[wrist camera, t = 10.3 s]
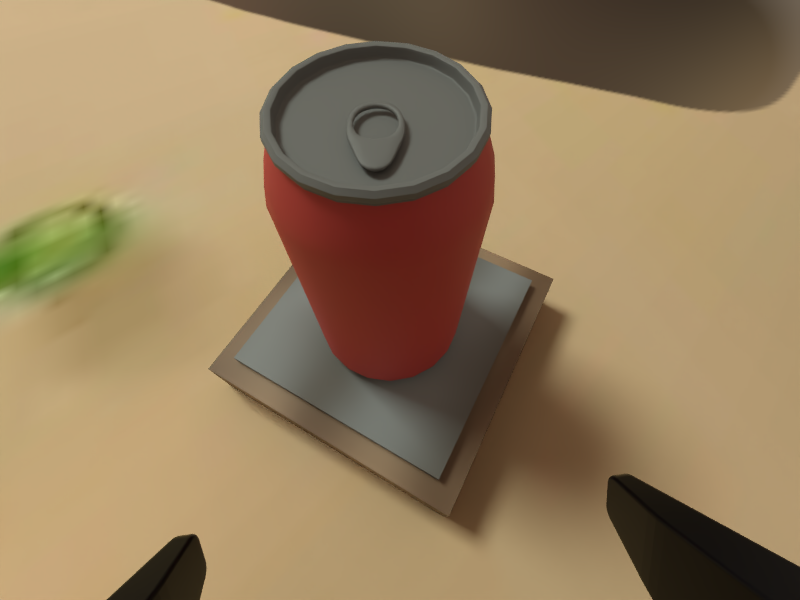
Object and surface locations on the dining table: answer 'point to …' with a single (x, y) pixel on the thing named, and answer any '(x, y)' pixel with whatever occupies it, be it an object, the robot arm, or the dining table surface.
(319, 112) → the beer can
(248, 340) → the walnut stand
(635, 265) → the dining table surface
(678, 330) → the dining table surface
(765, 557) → the robot arm
